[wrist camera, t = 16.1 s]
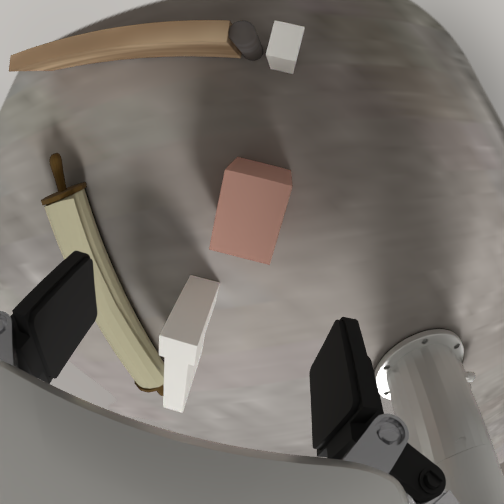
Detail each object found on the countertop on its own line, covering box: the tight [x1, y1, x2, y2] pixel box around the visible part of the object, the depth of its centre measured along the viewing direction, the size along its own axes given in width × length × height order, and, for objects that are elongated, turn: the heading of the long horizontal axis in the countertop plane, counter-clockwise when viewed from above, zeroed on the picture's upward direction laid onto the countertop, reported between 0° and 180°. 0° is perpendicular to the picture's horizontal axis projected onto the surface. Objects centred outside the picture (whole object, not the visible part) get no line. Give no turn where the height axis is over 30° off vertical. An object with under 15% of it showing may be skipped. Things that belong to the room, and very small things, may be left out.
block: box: [209, 157, 292, 265], centre depth 23 cm, size 4×6×6 cm
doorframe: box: [159, 21, 305, 413], centre depth 23 cm, size 5×33×9 cm, turn 167°
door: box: [9, 20, 263, 71], centre depth 17 cm, size 2×21×6 cm, turn 84°
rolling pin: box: [41, 153, 164, 396], centre depth 30 cm, size 32×6×5 cm, turn 12°
